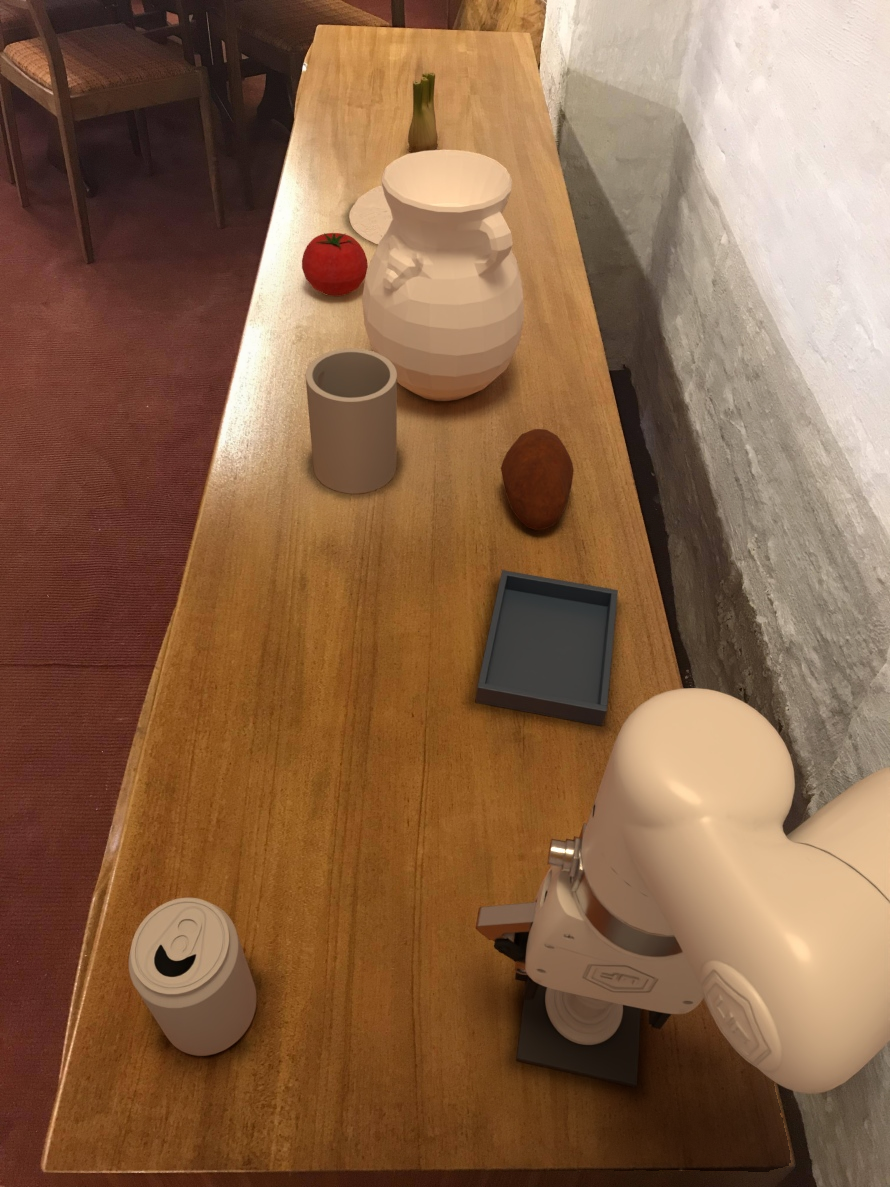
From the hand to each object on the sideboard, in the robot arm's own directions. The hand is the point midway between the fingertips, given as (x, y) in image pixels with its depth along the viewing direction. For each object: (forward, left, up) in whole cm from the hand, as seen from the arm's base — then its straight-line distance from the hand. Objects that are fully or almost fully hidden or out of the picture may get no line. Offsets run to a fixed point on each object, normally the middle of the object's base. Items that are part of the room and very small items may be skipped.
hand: (592, 989), depth 59 cm
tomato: (+87, +42, -5) cm, 97 cm away
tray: (+31, +6, -5) cm, 32 cm away
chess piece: (0, 0, -4) cm, 4 cm away
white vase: (+70, +24, -5) cm, 74 cm away
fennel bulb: (+134, +40, -5) cm, 140 cm away
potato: (+51, +10, -5) cm, 52 cm away
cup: (+52, +30, -5) cm, 60 cm away
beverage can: (-5, +25, -5) cm, 26 cm away
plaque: (+110, +36, -5) cm, 116 cm away
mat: (0, 0, -5) cm, 5 cm away
